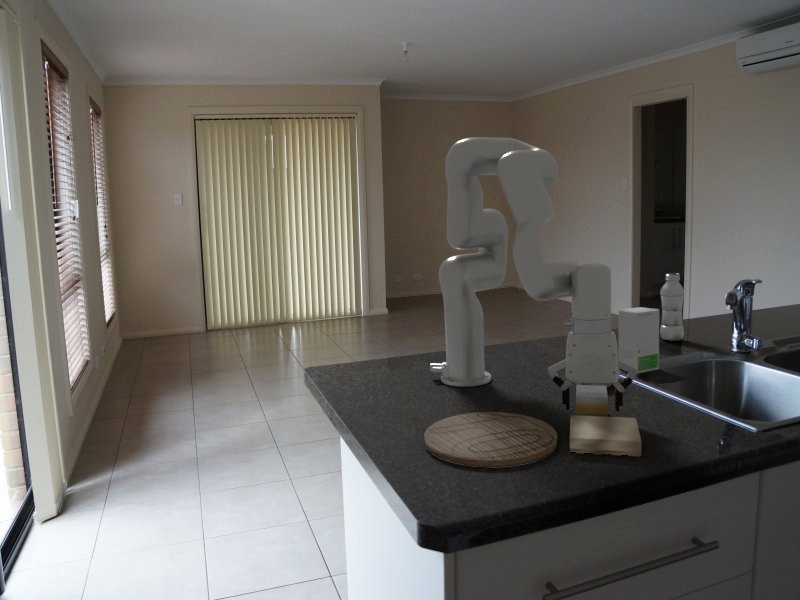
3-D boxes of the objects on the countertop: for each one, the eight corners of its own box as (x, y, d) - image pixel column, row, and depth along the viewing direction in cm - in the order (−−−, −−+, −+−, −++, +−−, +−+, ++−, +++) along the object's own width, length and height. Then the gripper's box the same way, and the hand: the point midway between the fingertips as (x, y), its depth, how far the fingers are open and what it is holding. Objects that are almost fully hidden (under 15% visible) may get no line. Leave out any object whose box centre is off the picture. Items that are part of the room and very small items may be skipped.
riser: (569, 453, 118) (569, 437, 118) (570, 430, 130) (570, 415, 129) (641, 457, 115) (641, 441, 114) (635, 432, 126) (635, 417, 126)
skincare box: (636, 374, 164) (636, 313, 162) (616, 369, 170) (616, 309, 168) (660, 369, 168) (661, 308, 166) (639, 364, 174) (640, 305, 171)
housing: (576, 425, 132) (576, 396, 131) (576, 412, 140) (576, 385, 139) (607, 427, 131) (607, 397, 130) (606, 413, 138) (606, 385, 137)
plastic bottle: (687, 342, 194) (689, 274, 191) (664, 343, 194) (665, 275, 191) (678, 337, 200) (680, 272, 197) (656, 338, 201) (657, 273, 197)
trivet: (403, 435, 132) (402, 426, 132) (509, 413, 142) (509, 404, 142) (465, 482, 110) (464, 471, 109) (586, 452, 120) (586, 442, 119)
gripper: (546, 329, 131) (547, 413, 133) (639, 329, 126) (638, 416, 129) (547, 322, 138) (549, 401, 141) (635, 322, 133) (635, 404, 136)
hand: (592, 408), depth 135 cm, fingers open, 9 cm apart
